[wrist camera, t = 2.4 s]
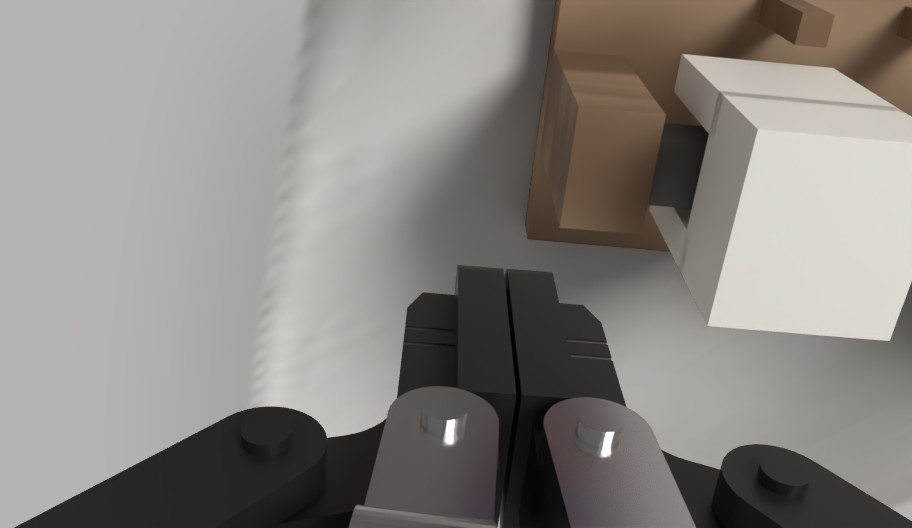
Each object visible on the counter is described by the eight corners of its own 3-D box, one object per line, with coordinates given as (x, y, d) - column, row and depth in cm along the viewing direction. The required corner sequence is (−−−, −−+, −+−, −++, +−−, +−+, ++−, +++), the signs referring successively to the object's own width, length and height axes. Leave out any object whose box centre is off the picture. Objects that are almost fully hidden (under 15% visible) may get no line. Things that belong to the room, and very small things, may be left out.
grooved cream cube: (681, 53, 22) (757, 129, 16) (833, 68, 22) (961, 147, 17) (649, 210, 24) (707, 325, 18) (788, 222, 24) (889, 340, 19)
